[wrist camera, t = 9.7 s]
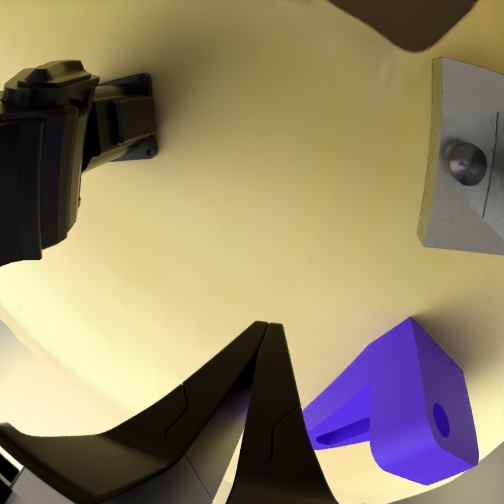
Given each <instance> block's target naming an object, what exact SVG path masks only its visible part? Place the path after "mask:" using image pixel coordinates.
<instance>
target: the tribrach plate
mask: <svg viewBox="0 0 504 504" xmlns="http://www.w3.org/2000/svg"><path fill="white" fill-rule="evenodd" d="M498 112H502V113H504V75H502V74H499V73H496V72H493V71H490V70H487V69H484V68H481V67H478V66H474V65H471V64H467V63H464V62H460V61H456V60H452V59H448V58H444V57H441V58H437V59H434V60H432V117H431V133H430V146H429V156H428V166H427V174H426V182H425V189H424V196H423V202H422V208H421V214H420V220H419V225H418V230H417V235H418V237H419V239H420V241H421V243H422V245H423V247H431V248H441V249H450V250H460V251H469V252H478V253H487V254H495V255H504V241H503V239H502V238H501V237H500V236H499V235H498V234H497V233H496V232H495V231H494V230H493V229H492V227H491V226H490V225H489V224H488V223H487V222H486V221H485V220H484V219H483V217H484V212H485V208H486V203H487V198H488V193H489V188H490V182H491V176H492V170H493V163H494V155H495V147H496V138H497V126H498Z"/></svg>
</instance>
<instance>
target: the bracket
mask: <svg viewBox="0 0 504 504" xmlns="http://www.w3.org/2000/svg"><path fill="white" fill-rule="evenodd" d="M303 417H304V421H305V425H306V429H307V432H308V435H309V438H310V441H311V444H312V447H313V449H314V450H322V449H328V448H334V447H340V446H345V445H351V444H356V443H361V442H365V441H370V447H371V451H372V455H373V457H374V459H375V461H376V463H377V464H378V465H379V467H380V468H381V469H383V470H384V471H386V472H389V473H392V474H394V475H397V476H400V477H403V478H405V479H408V480H411V481H414V482H417V483H420V484H423V485H430V484H433V483H436V482H438V481H441V480H444V479H446V478H449V477H451V476H454V475H456V474H459V473H461V472H464V471H466V470H468V469H470V468H472V467H474V466H476V465H477V464H478V460H479V450H478V443H477V437H476V431H475V425H474V420H473V415H472V410H471V405H470V401H469V396H468V392H467V388H466V384H465V380H464V376H463V372H462V370H461V369H460V368H459V367H458V366H457V365H456V364H455V363H454V362H453V360H452V359H451V358H450V357H449V356H448V355H447V354H446V353H445V352H444V351H443V350H442V349H441V348H440V347H439V346H438V345H437V344H436V343H435V341H434V340H433V339H432V338H431V337H430V336H429V335H428V334H427V333H426V332H425V331H424V330H423V329H422V328H421V327H420V326H419V325H418V324H417V323H416V322H415V321H414V320H413V319H412V318H411V317H409V318H407V319H406V320H404V321H403V322H402V323H400V324H399V325H397V326H396V327H394V328H393V329H392V330H390V331H389V332H387V333H386V334H384V335H383V336H381V337H380V338H378V339H377V340H375V341H374V342H372V343H370V344H369V345H368V346H367V347H366V348H365V349H364V351H363V352H362V353H361V354H360V355H359V356H358V357H357V358H356V359H355V360H354V361H353V362H352V363H351V364H350V365H349V366H348V367H347V368H346V369H345V370H344V371H343V373H342V374H341V375H340V376H339V377H338V378H337V379H336V380H335V381H333V382H332V383H331V384H330V385H329V386H328V387H327V388H326V389H325V390H324V391H323V392H322V393H321V394H320V395H319V396H318V397H317V398H316V399H315V400H314V401H313V402H311V403H310V404H309V405H308V406H307V407H306V408H305V409H304V410H303Z"/></svg>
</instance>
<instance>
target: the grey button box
mask: <svg viewBox="0 0 504 504" xmlns="http://www.w3.org/2000/svg"><path fill="white" fill-rule="evenodd" d="M483 219H484V220H485V221H486V222H487V223H488V224H489V225H490V226H491V227H492V229H493V230H494V231H495V232H496V233H497V234H498V235H499V236H500V237H501V238H502V239H503V241H504V113H502V112H498V126H497V138H496V147H495V155H494V163H493V170H492V176H491V182H490V188H489V193H488V198H487V203H486V208H485V212H484V217H483Z"/></svg>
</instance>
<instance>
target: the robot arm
mask: <svg viewBox="0 0 504 504" xmlns="http://www.w3.org/2000/svg"><path fill="white" fill-rule="evenodd" d="M143 77H145V81H144V83H143V81H142V79H143ZM99 79H100V77H99V76H95V75H92V74H91V73H88V72H86V70H84V68H83V65H82V63H81V61H79V60H59V61H52V62H49V63H46V64H44V65H40V66H38V67H36V68H29V69H23V70H22V71H21V72H19V73H18V74H17V75H15V76H14V77H13V78H11V79H10V80H9V81H8V82H6V83H5V85H4V89H3V91H0V267H1V266H3V265H6V264H9V263H12V262H17V261H22V260H40V259H42V250H44V249H47V248H49V247H52V246H54V245H57V244H58V243H60V242H61V241H63V240H64V239H66V238H67V232H68V231H69V230H70V229H71V227H72V226H73V225H74V223H75V222H76V218H77V212H78V208H79V206H80V200H81V198H80V197H79V196H80V184H81V174H82V173H85V172H87V171H89V170H91V169H93V168H96V167H98V166H100V165H103V164H105V163H107V162H115V161H126V160H139V159H151V158H153V157H155V156H156V155H157V142H156V133H155V132H156V121H155V110H154V99H153V98H152V87H151V77H150V75H149V74H147V73H141V74H137V75H132V76H128V77H124V78H120V79H116V80H113V81H109V82H105V83H102V84H98V83H99ZM149 149H150V150H151V151H152V154H150V153H149ZM182 384H183V385H182ZM182 384H180V385H179V386H177V387H176V388H175V389H174V390H172V391H171V392H170V393H168V394H167V395H166V396H164V397H163V398H162V399H160V400H159V401H157V402H156V403H154V404H153V405H151V406H150V407H148V408H147V409H145V410H143V411H142V412H140V413H138V414H137V415H135V416H133V417H132V418H130V419H128V420H127V421H125V422H123V423H121V424H120V425H118V426H116V427H114V428H112V429H110V430H108V431H106V432H103V433H100V434H95V435H85V436H84V435H83V436H59V437H39V436H31V435H26V434H24V433H21V432H20V431H18V430H17V429H16V428H14V427H13V426H12V425H11V424H9V423H7V422H4V423H0V446H1V447H2V448H3V449H4V450H5V451H6V452H8V454H10V455H11V456H12V457H13V458H14V459H15V460H16V461H18V462H19V463H20V464H21V465H22V467H21V469H20V470H19V469H18V468H17V467H16V466H14V465H13V464H12V463H11V462H10V461H9V460H8V459H7V458H5V457H4V456H3V455H2V454H1V453H0V504H212V502H213V501H212V500H213V499H214V497H215V495H216V493H217V491H218V488H219V486H220V484H221V482H222V479H223V477H224V475H225V472H226V470H227V468H228V465H229V463H230V461H231V458H232V456H233V453H234V451H235V449H236V446H237V444H238V441H239V439H240V437H241V434H242V432H243V429H244V433H243V438H242V444H241V449H240V454H239V459H238V464H237V470H236V475H235V479H234V482H233V486H232V489H231V492H230V494H229V496H228V499H227V501H226V503H225V504H339V503H338V502H337V501H336V499H335V497H334V496H333V494H332V492H331V490H330V488H329V486H328V484H327V482H326V479H325V477H324V474H323V472H322V469H321V467H320V464H319V462H318V459H317V457H316V454H315V452H314V449H313V447H312V444H311V441H310V438H309V435H308V432H307V429H306V425H305V421H304V417H303V412H302V408H301V404H300V399H299V395H298V390H297V386H296V381H295V377H294V372H293V368H292V363H291V359H290V354H289V350H288V345H287V341H286V336H285V332H284V328H283V325H282V324H280V323H268V322H264V321H255V322H254V323H252V324H251V325H250V326H249V327H248V328H247V329H246V330H244V331H243V332H242V333H241V334H240V335H239V336H237V337H236V338H235V339H234V340H233V341H232V342H231V343H229V344H228V345H227V346H226V347H225V348H223V349H222V350H221V351H220V352H219V353H218V354H216V355H215V356H214V357H213V358H212V359H210V360H209V361H208V362H207V363H206V364H204V365H203V366H202V367H201V368H200V369H198V370H197V371H196V372H195V373H194V374H192V375H191V376H190V377H189V378H187V379H186V380H185V381H184V382H183V383H182ZM244 427H245V428H244Z"/></svg>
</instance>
